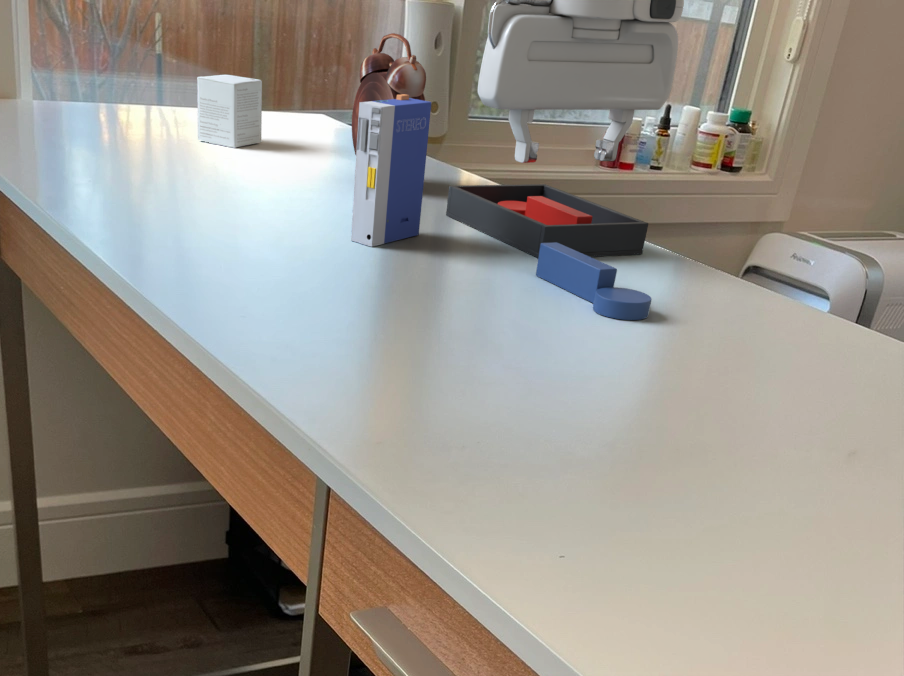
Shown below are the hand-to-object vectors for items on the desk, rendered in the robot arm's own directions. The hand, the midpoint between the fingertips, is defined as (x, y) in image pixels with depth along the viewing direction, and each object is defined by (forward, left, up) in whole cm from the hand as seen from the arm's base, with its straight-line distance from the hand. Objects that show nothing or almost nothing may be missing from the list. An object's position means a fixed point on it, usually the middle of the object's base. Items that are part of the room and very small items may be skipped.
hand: (565, 161), depth 109 cm
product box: (+31, -46, -7) cm, 55 cm away
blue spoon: (+3, +21, -7) cm, 23 cm away
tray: (+1, -2, -7) cm, 7 cm away
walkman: (+18, +3, -7) cm, 20 cm away
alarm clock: (+14, -24, -7) cm, 28 cm away
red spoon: (+1, -2, -7) cm, 7 cm away
